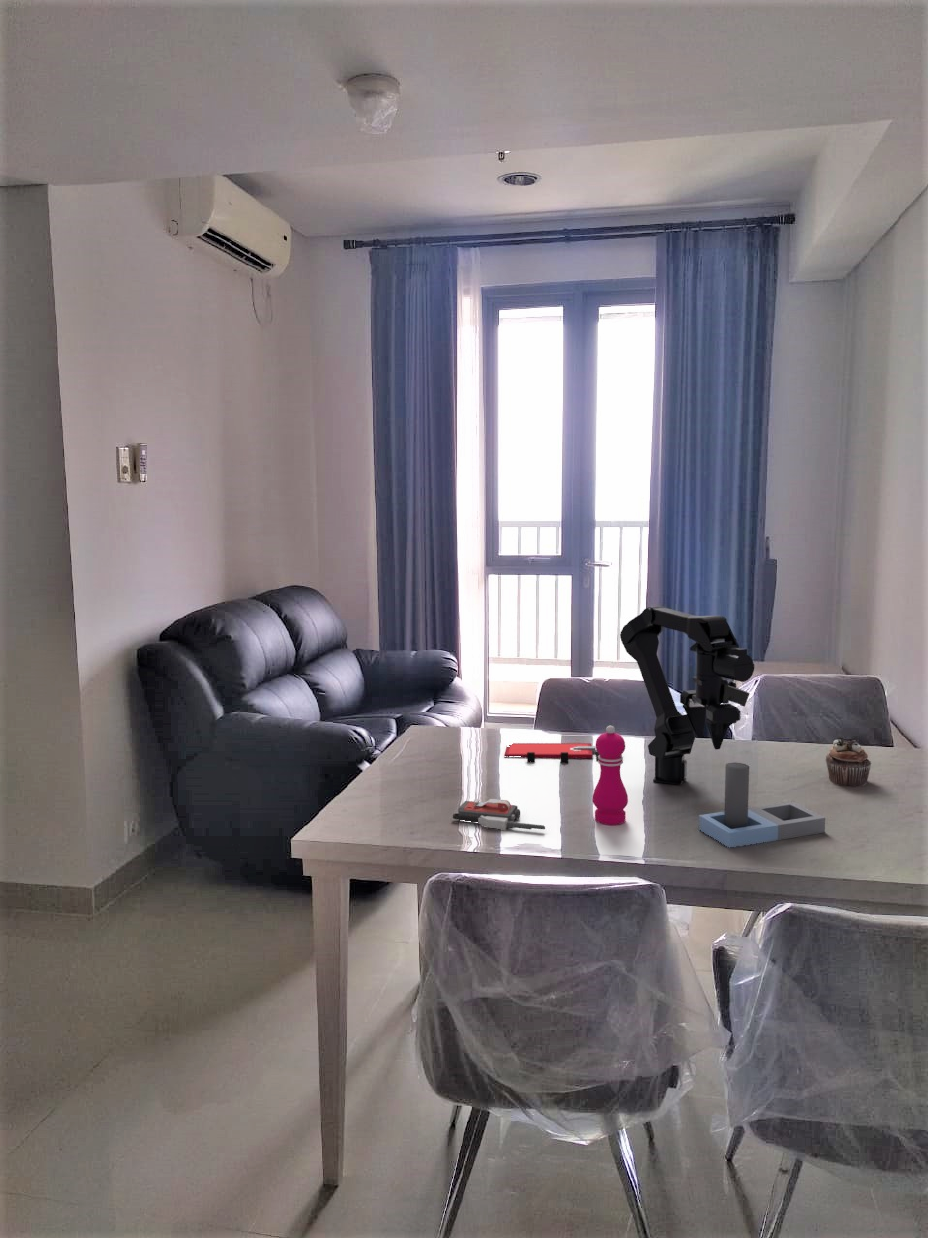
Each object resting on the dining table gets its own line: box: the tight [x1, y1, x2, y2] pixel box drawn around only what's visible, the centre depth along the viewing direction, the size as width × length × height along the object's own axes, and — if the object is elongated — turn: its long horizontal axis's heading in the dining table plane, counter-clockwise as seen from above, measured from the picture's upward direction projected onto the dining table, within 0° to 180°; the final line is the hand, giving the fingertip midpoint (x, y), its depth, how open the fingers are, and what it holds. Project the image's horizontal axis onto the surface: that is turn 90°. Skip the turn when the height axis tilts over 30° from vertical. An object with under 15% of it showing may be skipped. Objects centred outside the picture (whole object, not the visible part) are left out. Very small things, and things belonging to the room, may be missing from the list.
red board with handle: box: [503, 742, 623, 764], centre depth 226 cm, size 30×3×15 cm
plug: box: [723, 762, 750, 829], centre depth 169 cm, size 4×4×14 cm
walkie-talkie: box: [452, 798, 546, 831], centre depth 179 cm, size 9×4×20 cm
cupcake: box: [825, 737, 872, 788], centre depth 200 cm, size 10×10×10 cm
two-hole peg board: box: [698, 800, 826, 849], centre depth 172 cm, size 22×10×3 cm, turn 108°
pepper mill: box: [592, 725, 629, 826], centre depth 178 cm, size 7×7×20 cm
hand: (708, 743), depth 191 cm, fingers open, 9 cm apart
